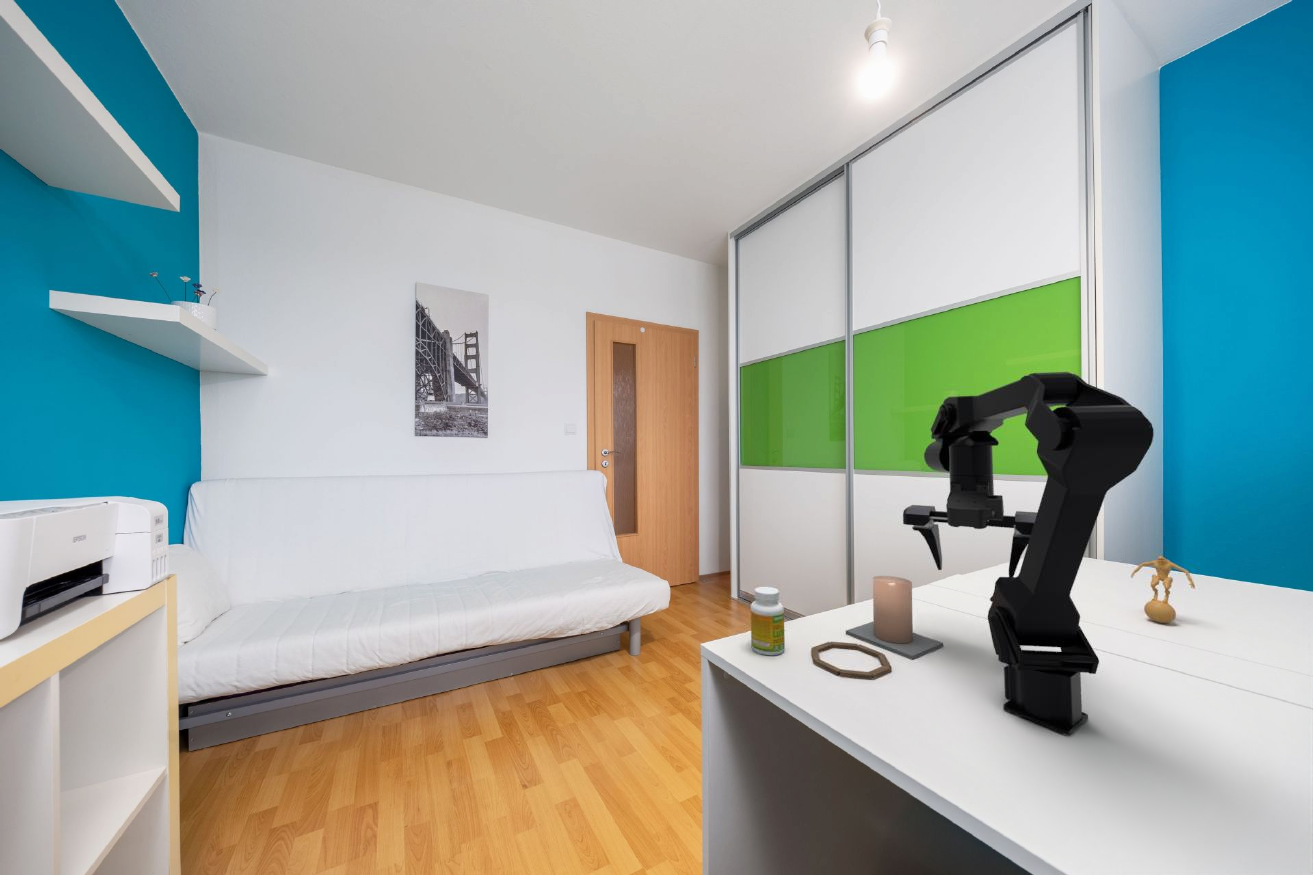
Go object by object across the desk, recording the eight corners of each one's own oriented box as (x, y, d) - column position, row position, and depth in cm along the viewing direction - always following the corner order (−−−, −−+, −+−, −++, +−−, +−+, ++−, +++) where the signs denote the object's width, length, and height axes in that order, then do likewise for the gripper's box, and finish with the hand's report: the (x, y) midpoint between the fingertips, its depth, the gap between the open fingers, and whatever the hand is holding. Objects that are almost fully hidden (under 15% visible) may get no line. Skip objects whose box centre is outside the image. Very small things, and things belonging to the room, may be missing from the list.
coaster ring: (904, 665, 70) (904, 661, 70) (858, 685, 64) (858, 681, 64) (842, 640, 79) (841, 637, 79) (797, 656, 73) (797, 652, 73)
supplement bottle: (776, 659, 73) (775, 597, 73) (745, 650, 76) (744, 591, 76) (789, 647, 77) (788, 588, 77) (759, 639, 80) (758, 583, 80)
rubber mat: (943, 646, 76) (943, 642, 76) (912, 659, 72) (912, 655, 72) (876, 623, 87) (876, 620, 87) (845, 633, 82) (845, 630, 82)
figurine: (1125, 617, 88) (1122, 554, 88) (1137, 611, 91) (1135, 550, 91) (1189, 632, 81) (1186, 563, 81) (1201, 625, 84) (1198, 559, 84)
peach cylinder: (920, 638, 78) (919, 581, 79) (900, 646, 75) (899, 587, 75) (886, 627, 83) (885, 574, 84) (866, 633, 80) (865, 578, 80)
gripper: (893, 476, 73) (896, 575, 72) (1048, 479, 61) (1053, 599, 60) (909, 472, 81) (911, 561, 81) (1048, 475, 69) (1051, 580, 69)
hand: (974, 574), depth 72 cm, fingers open, 9 cm apart
